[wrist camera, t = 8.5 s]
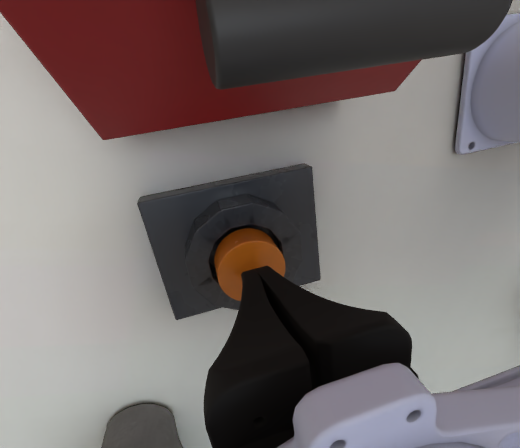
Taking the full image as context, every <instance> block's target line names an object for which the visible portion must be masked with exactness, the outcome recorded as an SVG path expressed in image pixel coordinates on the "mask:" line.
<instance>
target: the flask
mask: <svg viewBox="0 0 520 448" xmlns="http://www.w3.org/2000/svg"><path fill="white" fill-rule="evenodd" d="M101 448H182V446H181V443H180V441H179V438H178V434H177V429H176V425H175V420H174V416H173V415H172V414H171V412H170V411H169V410H168V409H167V408H165V407H162V406H159V405H156V404H139V405H136V406H132V407H129V408H127V409H125V410H123V411H121V412H120V413H118V414H116V415H115V416H114V417H113V418H112V419H111V421H110V422H109V423H108V424H107V428H106V431H105V435H104V439H103V443H102V447H101Z"/></svg>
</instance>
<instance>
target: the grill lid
mask: <svg viewBox="0 0 520 448" xmlns="http://www.w3.org/2000/svg"><path fill="white" fill-rule="evenodd" d="M511 3H512V0H0V12H1V14H2V15H3V16H4V17H5V19H6V20H7V21H8V22H9V24H10V25H11V26H12V27H13V29H14V30H15V31H16V32H17V34H18V35H19V36H20V37H21V39H22V40H23V41H24V42H25V44H26V45H27V46H28V47H29V49H30V50H31V51H32V52H33V54H34V55H35V56H36V57H37V59H38V60H39V61H40V62H41V64H42V65H43V66H44V67H45V69H46V70H47V71H48V72H49V73H50V75H51V76H52V77H53V78H54V80H55V81H56V82H57V83H58V85H59V86H60V87H61V88H62V90H63V91H64V92H65V93H66V95H67V96H68V97H69V98H70V100H71V101H72V102H73V103H74V105H75V106H76V107H77V108H78V110H79V111H80V112H81V113H82V115H83V116H84V117H85V118H86V120H87V121H88V122H89V123H90V125H91V126H92V127H93V128H94V129H95V131H96V132H97V133H98V134H99V136H100V137H101V138H102V139H103V140H108V139H114V138H120V137H126V136H131V135H137V134H143V133H149V132H155V131H161V130H167V129H173V128H179V127H185V126H191V125H197V124H203V123H209V122H214V121H220V120H226V119H232V118H238V117H244V116H250V115H256V114H262V113H268V112H274V111H280V110H286V109H291V108H297V107H303V106H309V105H315V104H321V103H327V102H333V101H339V100H345V99H351V98H357V97H363V96H369V95H374V94H380V93H386V92H392V91H395V90H396V89H397V88H398V87H399V86H400V85H401V83H402V82H403V81H404V80H405V79H406V78H407V76H408V75H409V74H410V73H411V72H412V70H413V69H414V68H415V67H416V66H417V65H418V63H419V62H420V61H421V60H422V59H428V58H435V57H442V56H448V55H455V54H462V53H466V52H469V51H472V50H473V49H475V48H477V47H478V46H480V45H481V44H483V43H484V42H485V41H486V40H488V39H489V38H490V37H491V36H492V35H493V34H494V32H495V31H496V30H497V29H498V27H499V26H500V25H501V23H502V22H503V20H504V18H505V16H506V15H507V13H508V10H509V8H510V6H511Z"/></svg>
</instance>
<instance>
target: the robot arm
mask: <svg viewBox="0 0 520 448" xmlns="http://www.w3.org/2000/svg"><path fill="white" fill-rule="evenodd" d="M518 142H520V13H515V14H507V15H506V16H505V18H504V20H503V22H502V23H501V25H500V26H499V27H498V29H497V30H496V31H495V32H494V34H493V35H492V36H491V37H490V38H489V39H488V40H486V41H485V42H484V43H483V44H481V45H480V46H478V47H477V48H475V49H473V50H472V51H469V52H466V57H465V65H464V74H463V83H462V91H461V100H460V109H459V117H458V126H457V135H456V143H455V151H456V153H458V154H468V153H472V152H477V151H481V150H486V149H490V148H495V147H499V146H504V145H508V144H513V143H518ZM469 144H470V145H469ZM468 146H469V147H468ZM241 278H242V296H241V302H240V307H239V311H238V315H237V318H236V321H235V324H234V326H233V329H232V331H231V334H230V336H229V338H228V340H227V342H226V344H225V346H224V347H223V349H222V351H221V353H220V354H219V356H218V357H217V359H216V360H215V362H214V363H213V365H212V366H211V368H210V369H209V371H208V376H207V381H206V387H205V394H204V416H205V425H206V430H207V433H208V436H209V439H210V442H211V445H212V448H520V366H517V367H514V368H512V369H509V370H507V371H504V372H501V373H499V374H496V375H494V376H491V377H488V378H486V379H483V380H481V381H478V382H475V383H473V384H470V385H468V386H465V387H462V388H460V389H457V390H455V391H452V392H444V393H433V394H431V393H430V392H429V391H428V389H427V388H426V387H425V386H424V385H423V384H422V383H421V381H420V380H419V378H418V375H417V374H416V373H415V372H414V371H413V369H412V368H411V367H410V365H411V352H412V340H411V337H410V335H409V333H408V332H407V331H406V330H405V329H404V328H403V327H402V326H401V325H400V324H399V323H398V322H397V321H396V320H395V319H394V318H393V317H391V316H390V315H389V314H388V313H387V312H380V311H373V310H365V309H360V308H356V307H351V306H347V305H343V304H340V303H336V302H333V301H330V300H327V299H324V298H322V297H320V296H317V295H315V294H312V293H310V292H308V291H306V290H304V289H303V288H301V287H299V286H297V285H295V284H294V283H292V282H291V281H289V280H288V279H286V278H285V277H283V276H282V275H280V274H279V273H277V272H276V271H275V270H273V269H272V268H271V267H269V266H268V265H267V266H263V267H259V268H255V269H252V270H248V271H244V272H242V274H241Z"/></svg>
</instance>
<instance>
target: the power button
mask: <svg viewBox="0 0 520 448" xmlns="http://www.w3.org/2000/svg"><path fill="white" fill-rule="evenodd" d="M214 264H215V269H216V274H217V278H218V282H219V285H220V287H221V289H222V290H223V292H224V293H225V294H227V295H228V296H229V297H231V298H233V299H235V300H238V301H241V296H242V278H241V274H242V272H244V271H248V270H252V269H255V268H259V267H263V266H267V265H268V266H269V267H271V268H272V269H273V270H275V271H276V272H277V273H279V274H280V275H282V276H283V277H284V275H285V268H286V266H285V259H284V257H283V255H282V253H281V251H280V250H279V248H278V247H277V246H276V244H275V243H274V241H273V240H272V239H271V237H270V236H269V235H267V234H266V233H265V232H263V231H261V230H258V229H252V228H245V229H240V230H237V231H234V232H232V233H230V234H229V235H227V236H226V237H225V238H224V239H223V240H222V241H221V242H220V244H219V245H218V247H217V249H216V252H215V256H214Z"/></svg>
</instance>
